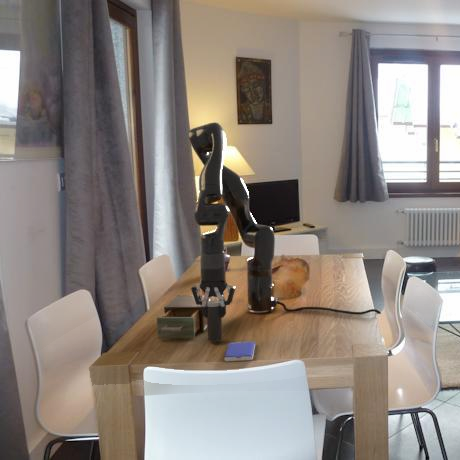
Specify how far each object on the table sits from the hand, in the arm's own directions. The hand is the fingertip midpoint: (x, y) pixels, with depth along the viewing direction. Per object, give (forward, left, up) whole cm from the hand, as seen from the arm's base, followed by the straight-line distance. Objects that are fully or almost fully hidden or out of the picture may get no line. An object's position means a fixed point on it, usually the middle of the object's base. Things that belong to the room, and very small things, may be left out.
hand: (214, 316), depth 203 cm
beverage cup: (+14, -47, -9) cm, 50 cm away
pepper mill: (0, 0, -8) cm, 8 cm away
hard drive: (-10, +10, -9) cm, 17 cm away
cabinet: (+13, -18, -9) cm, 24 cm away
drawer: (+13, -6, -8) cm, 16 cm away
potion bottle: (+22, -102, -9) cm, 105 cm away
